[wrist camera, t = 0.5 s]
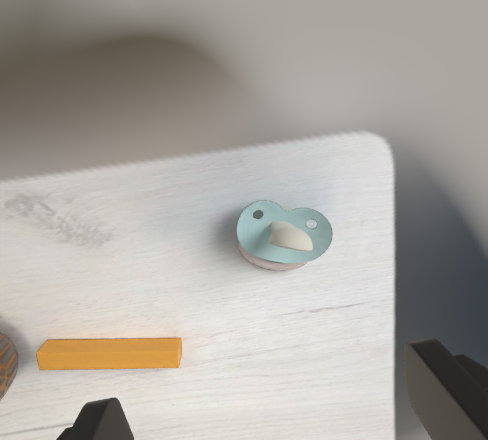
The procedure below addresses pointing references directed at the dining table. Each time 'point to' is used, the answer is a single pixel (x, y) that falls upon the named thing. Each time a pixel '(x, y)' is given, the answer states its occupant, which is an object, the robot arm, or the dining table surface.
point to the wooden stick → (110, 354)
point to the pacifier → (282, 236)
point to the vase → (7, 364)
